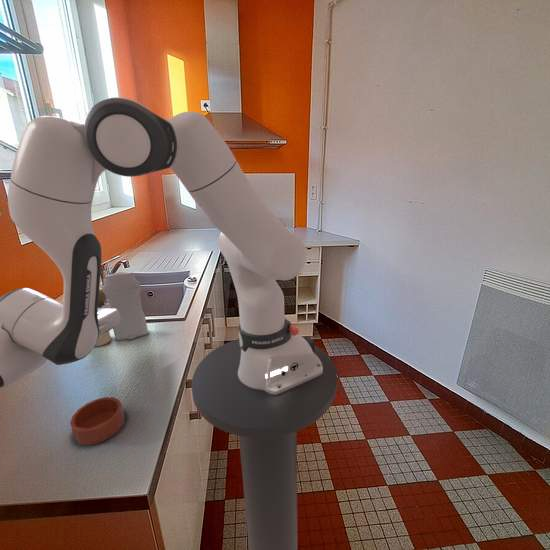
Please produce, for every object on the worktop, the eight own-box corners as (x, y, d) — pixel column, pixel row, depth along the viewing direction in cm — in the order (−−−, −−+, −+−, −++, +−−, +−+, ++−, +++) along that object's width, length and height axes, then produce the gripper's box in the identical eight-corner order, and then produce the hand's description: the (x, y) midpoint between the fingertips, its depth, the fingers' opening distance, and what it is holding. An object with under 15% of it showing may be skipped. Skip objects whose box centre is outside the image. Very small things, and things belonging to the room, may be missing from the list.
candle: (105, 335, 99) (98, 307, 96) (114, 340, 96) (107, 312, 93) (88, 343, 95) (80, 314, 92) (96, 348, 92) (88, 319, 89)
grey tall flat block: (149, 329, 102) (137, 268, 94) (149, 335, 98) (137, 271, 91) (114, 336, 98) (99, 272, 91) (113, 342, 95) (97, 277, 87)
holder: (126, 405, 69) (123, 392, 68) (121, 436, 61) (118, 423, 60) (80, 416, 66) (76, 403, 65) (69, 451, 58) (64, 437, 57)
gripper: (94, 320, 66) (131, 295, 79) (14, 316, 69) (62, 293, 82) (101, 345, 68) (136, 317, 81) (22, 340, 71) (68, 314, 84)
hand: (98, 305), depth 81 cm, fingers closed on cork, 4 cm apart
